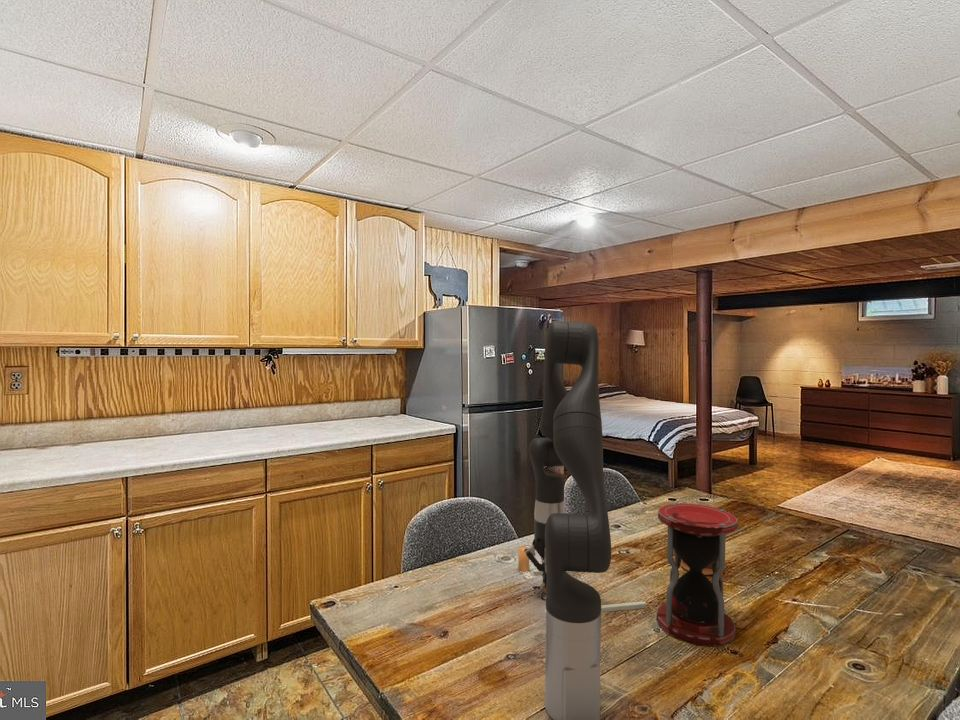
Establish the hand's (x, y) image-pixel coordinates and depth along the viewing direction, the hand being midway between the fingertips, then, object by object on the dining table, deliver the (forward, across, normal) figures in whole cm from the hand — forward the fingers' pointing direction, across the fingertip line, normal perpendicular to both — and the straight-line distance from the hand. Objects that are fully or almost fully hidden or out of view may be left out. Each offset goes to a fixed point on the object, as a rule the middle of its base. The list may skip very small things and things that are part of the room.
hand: (549, 585), depth 129 cm
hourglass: (+2, +27, -20) cm, 34 cm away
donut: (+2, +46, +6) cm, 46 cm away
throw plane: (+2, +8, 0) cm, 8 cm away
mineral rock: (+2, +2, +1) cm, 3 cm away
